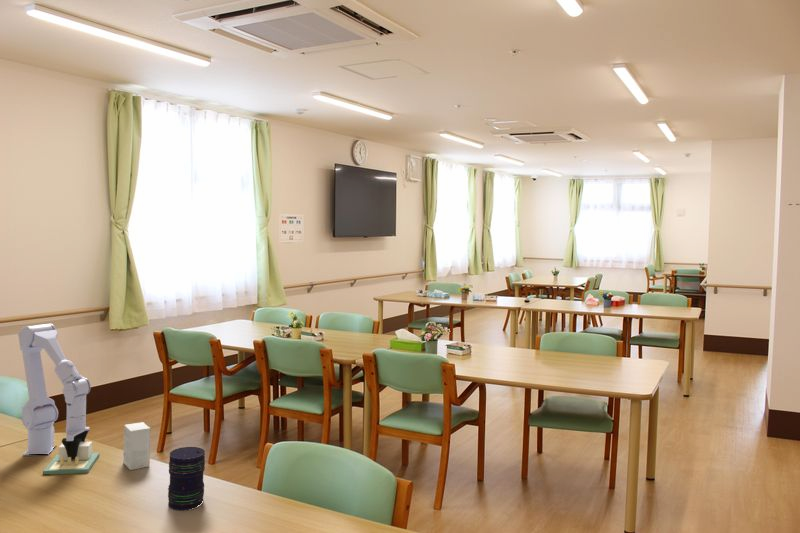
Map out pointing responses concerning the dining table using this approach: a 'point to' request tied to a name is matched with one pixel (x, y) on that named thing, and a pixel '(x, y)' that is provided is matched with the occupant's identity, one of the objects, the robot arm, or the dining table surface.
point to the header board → (70, 465)
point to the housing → (82, 453)
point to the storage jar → (186, 478)
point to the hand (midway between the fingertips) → (75, 455)
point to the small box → (136, 445)
